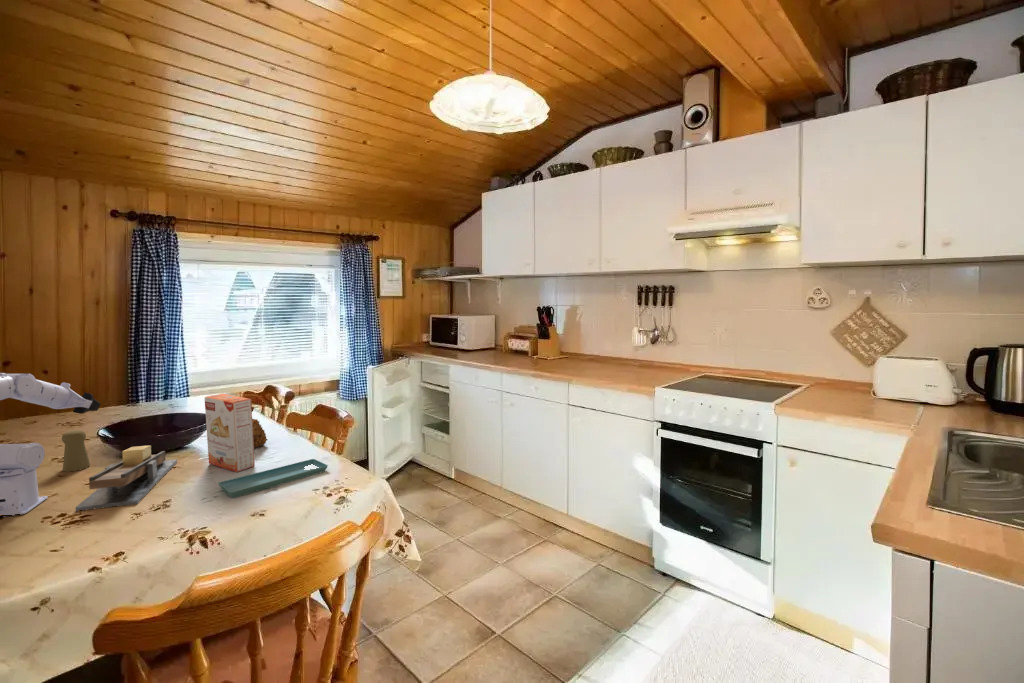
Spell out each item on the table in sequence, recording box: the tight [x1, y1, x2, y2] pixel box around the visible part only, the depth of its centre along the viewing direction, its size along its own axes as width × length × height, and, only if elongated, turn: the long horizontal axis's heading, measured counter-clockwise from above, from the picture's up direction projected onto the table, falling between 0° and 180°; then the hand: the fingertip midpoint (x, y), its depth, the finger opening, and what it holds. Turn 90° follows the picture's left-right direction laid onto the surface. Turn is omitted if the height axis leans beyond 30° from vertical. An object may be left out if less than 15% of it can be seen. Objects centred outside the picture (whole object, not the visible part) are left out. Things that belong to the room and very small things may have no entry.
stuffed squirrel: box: [251, 406, 268, 449], centre depth 160 cm, size 10×14×13 cm
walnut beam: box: [88, 450, 166, 490], centre depth 128 cm, size 28×7×3 cm, turn 20°
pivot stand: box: [75, 459, 178, 512], centre depth 128 cm, size 30×12×6 cm, turn 20°
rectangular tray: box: [217, 458, 329, 498], centre depth 132 cm, size 26×9×2 cm, turn 139°
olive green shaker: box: [61, 430, 91, 473], centre depth 139 cm, size 6×6×11 cm
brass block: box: [122, 445, 152, 466], centre depth 131 cm, size 6×4×4 cm
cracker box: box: [204, 393, 255, 473], centre depth 141 cm, size 14×6×21 cm, turn 62°
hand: (84, 403), depth 134 cm, fingers open, 7 cm apart
